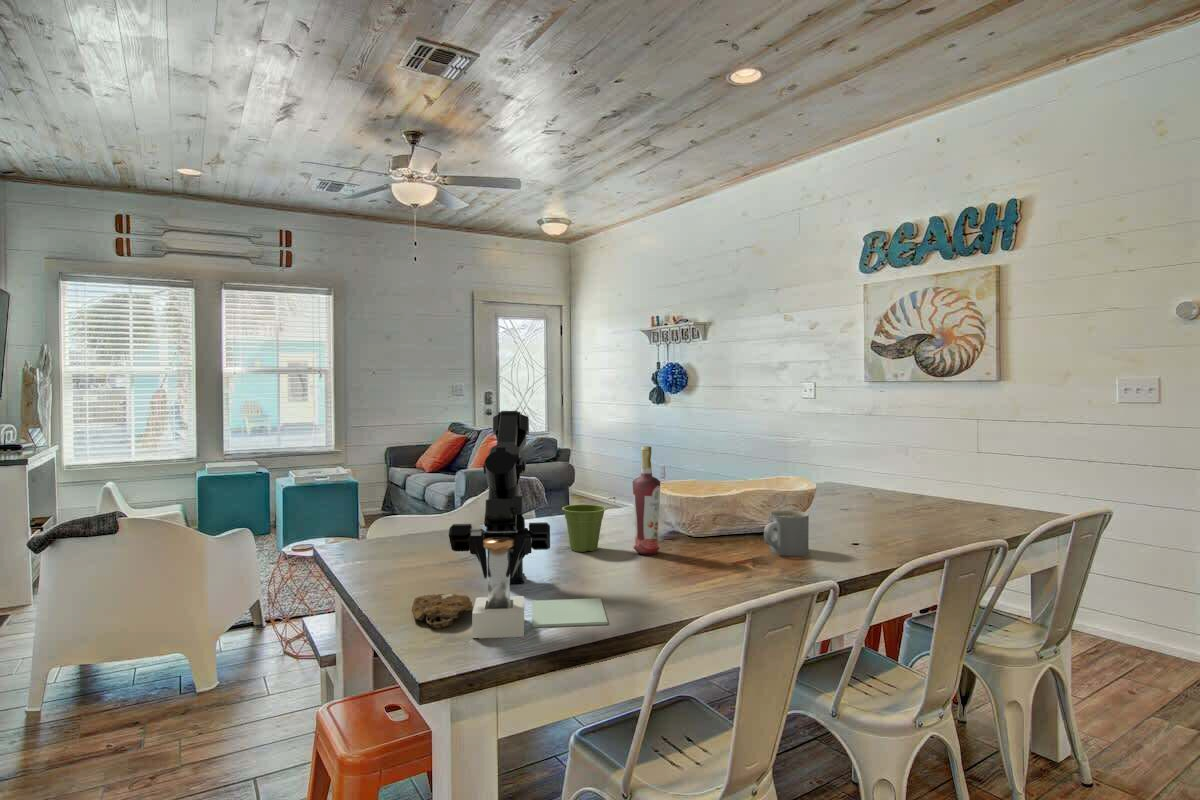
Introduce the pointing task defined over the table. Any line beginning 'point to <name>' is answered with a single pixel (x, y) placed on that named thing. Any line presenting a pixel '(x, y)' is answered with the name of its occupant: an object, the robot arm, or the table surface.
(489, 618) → the collar
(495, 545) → the glass jar with lid
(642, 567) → the table surface
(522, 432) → the robot arm
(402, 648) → the table surface
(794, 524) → the coffee mug
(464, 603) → the decorative rock
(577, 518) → the plant pot
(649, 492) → the liquor
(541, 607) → the sage mat
